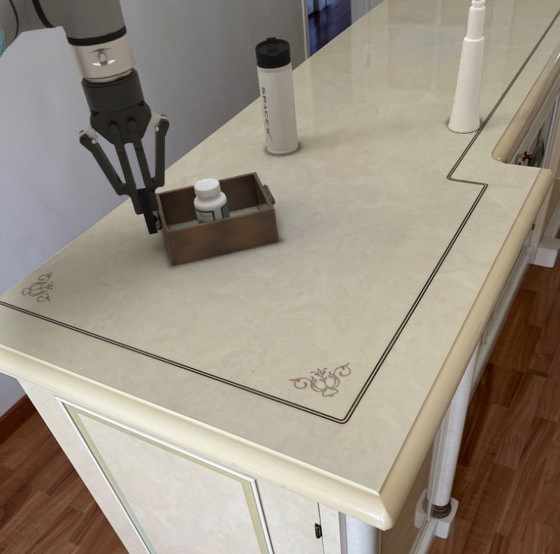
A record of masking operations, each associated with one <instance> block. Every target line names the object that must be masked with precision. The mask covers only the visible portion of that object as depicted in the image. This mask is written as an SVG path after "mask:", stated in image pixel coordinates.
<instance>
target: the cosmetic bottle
mask: <svg viewBox="0 0 560 554" xmlns="http://www.w3.org/2000/svg"><path fill="white" fill-rule="evenodd" d="M485 4H486V0H471V6H469V8H468V18H467V28H466V36H465V37H464V38H463V42H462V48H461V55H460V61H459V67H458V73H457V82H456V86H455V87H456V88H455V93H454V100H453V105H452V109H451V114H450V118H449V120H448V125H447V127H448V129H449V130H450V131H452V132H454V133H459V134H469V133H473V132H476V131H477V130H479V128H480V127H481V123H480V120H481V119H480V100H481V88H482V87H481V84H482V75H483V74H482V73H483V64H484V51H485V36H484V35H483V34H484V26H485V17H486V10H487V7H486V5H485Z"/></svg>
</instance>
